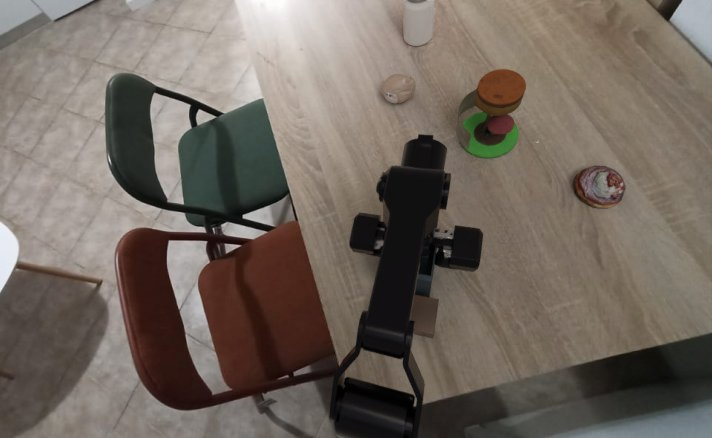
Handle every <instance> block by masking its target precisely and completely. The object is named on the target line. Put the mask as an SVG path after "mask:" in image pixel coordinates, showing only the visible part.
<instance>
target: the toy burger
mask: <svg viewBox="0 0 712 438" xmlns="http://www.w3.org/2000/svg"><path fill="white" fill-rule="evenodd" d="M526 89H527V83H526V80H525V78H524V77H523V75H522V74H520V73H519V72H518V71H515V70H511V69H507V68H500V69H499V68H498V69H494V70H491V71H489V72H487V73H486V74H484V75H483V76H482V77H480V79H479V81H478V83H477V87H476V88H475V89H474V90H472V91H470V92H469V93H467V94H466V95H465V96H464V97H463V99H462V100H461V102H460V103H459V106H458V111H457V117H456V123H455V135H456V138H457V140H458V141H459V143H460V145H461V147H462V148H463V149H464V150H465V151H466V152H467V153H468V154H471V155H472V156H474V157H477V158H482V159H494V158H499V157H502V156H505V155H506V154H508V153H510V152H511V151H512V150H513V149H514V147H515V146H516V145H517V143H518V140H519V135H520V133H519V127H518V125H517V123H516V121H515V119H514V118H513V116H511V115H510V114H511V113H513V112H515V111H516V110H517V109H518V108H519V107H520V105H521V103H522V101H523V98H524V95H525V93H526ZM474 107H476V108H478V109H479V110H480V111H479V112H476V113H474V114H471V115H470V116H469V117H467V118H466V119H465V120H464V121H463V122H462V121H461V119H460V117H461V116H462V115H463V114H465V112H467V111H469V110H470V109H473V108H474Z"/></svg>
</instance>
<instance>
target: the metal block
mask: <svg viewBox="0 0 712 438" xmlns="http://www.w3.org/2000/svg"><path fill="white" fill-rule="evenodd" d="M439 302H440V299H439V298H433V297H424V296H419V295H415V296H414V302H413V308H412V314H411V319H410V320H411V321H415V327H414V334H413V335H416V336H421V337H425V338H430V339H434V335H435V331H436V322H437V317H438V316H437V315H438V309H439Z"/></svg>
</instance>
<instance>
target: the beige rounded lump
mask: <svg viewBox="0 0 712 438" xmlns="http://www.w3.org/2000/svg"><path fill="white" fill-rule="evenodd" d="M415 91H416V81H415V78H414V77H412V76H411V75H409V76H408V75H405V74H402V73H394V74H391V75H390V76H388V77H387V78H386V79H385V80H384V81H383V82H382V84H381V85H380V92H381V94H382V95H383V96H384V98H385V99H386V101H387V102H389V103H391V104H402V103H404V102H406V101H408V100H409V99H411V98H412V97H413V95H414V94H415Z"/></svg>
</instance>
